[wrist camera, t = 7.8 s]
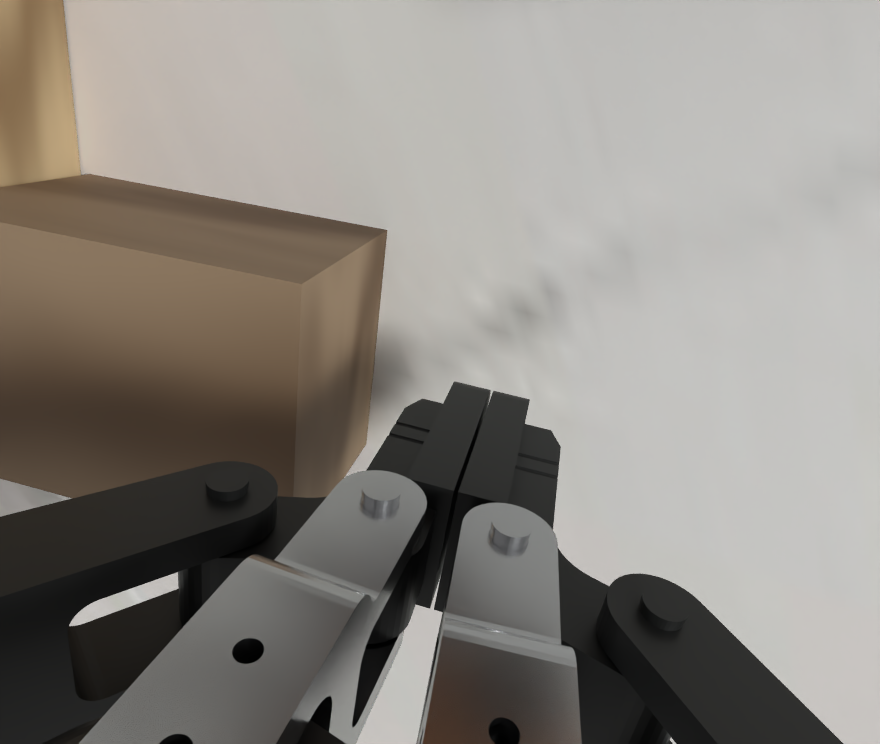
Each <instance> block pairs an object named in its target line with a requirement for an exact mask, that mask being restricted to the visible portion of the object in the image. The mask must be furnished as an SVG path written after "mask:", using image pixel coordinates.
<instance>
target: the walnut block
mask: <svg viewBox="0 0 880 744" xmlns="http://www.w3.org/2000/svg"><path fill="white" fill-rule="evenodd" d="M386 238H387V230H384V229H379V228H373V227H368V226H363V225H357V224H352V223H347V222H341V221H336V220H331V219H325V218H320V217H315V216H310V215H304V214H299V213H294V212H288V211H283V210H278V209H272V208H267V207H262V206H257V205H251V204H246V203H241V202H235V201H230V200H225V199H219V198H214V197H209V196H203V195H198V194H193V193H188V192H182V191H177V190H172V189H166V188H161V187H156V186H150V185H145V184H140V183H134V182H129V181H124V180H119V179H113V178H108V177H103V176H97V175H92V174H87V175H81V176H74V177H67V178H60V179H53V180H47V181H40V182H33V183H26V184H19V185H13V186H6V187H0V478H1V479H4V480H8V481H12V482H15V483H19V484H22V485H26V486H30V487H33V488H37V489H41V490H44V491H48V492H52V493H55V494H59V495H62V496H66V497H70V498H76V497H80V496H84V495H88V494H92V493H96V492H100V491H104V490H108V489H112V488H116V487H120V486H124V485H128V484H131V483H135V482H139V481H143V480H147V479H151V478H155V477H159V476H163V475H167V474H171V473H175V472H179V471H183V470H186V469H190V468H194V467H198V466H202V465H206V464H210V463H215V462H223V461H238V462H245V463H250V464H254V465H257V466H259V467H261V468H263V469H265V470H267V471H268V472H269V473H270V474H271V475H272V476H273V477H274V478H275V480H276V482H277V485H278V496H283V497H304V498H318V497H327V496H328V495H329V494H330V492H331V491H332V490H333V489H334V488H335V486H336V485H337V484H338V483H339V482H340V481H341V480H342V479H343V478H344V477H345V475H346V474H347V472H348V471H349V469H350V468H351V466H352V465H353V463H354V462H355V460H356V459H357V457H358V456H359V454H360V453H361V451H362V450H363V448H364V447H365V445H366V441H367V431H368V421H369V410H370V400H371V390H372V380H373V370H374V360H375V349H376V339H377V329H378V319H379V309H380V299H381V288H382V278H383V268H384V258H385V248H386Z"/></svg>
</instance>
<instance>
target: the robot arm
mask: <svg viewBox="0 0 880 744" xmlns="http://www.w3.org/2000/svg"><path fill="white" fill-rule="evenodd" d="M489 398H490V390H488V389H484V388H479V387H475V386H471V385H467V384H463V383H459V382H454V383H453V385H452V387H451V389H450V391H449V393H448V395H447V397H446V399H445V401H444V403H443V404H442V403H438V402H434V401H430V400H426V399H421V400H419V401H417V402H415V403H413V404H412V405H410V406H408V407H406V408H405V409H404V410H403V412H402V414H401V415H400V417H399V419H398V420H397V422H396V424H395V425H394V427H393V428H392V430H391V431H390V434H389V436H387V438H386V440H385V441H384V443H383V444H382V446H381V448H380V449H379V451H378V453H377V454H376V456H375V457H374V459H373V461H372V462H371V464H370V465H369V467H368V469H367V470H366V471H361V472H357V473H354V474H351V475H349V476H347V477H345V478H344V479H342V480H341V481H340V482H339V483H338V484H337V485H336V486H335V488H334V489H333V490H332V491H331V492H330V494H329V495H328V496H327V497H318V498H304V497H283V496H278V485H277V482H276V480H275V478H274V477H273V476H272V475H271V474H270V473H269V472H268V471H267V470H265V469H263V468H261V467H259V466H257V465H254V464H250V463H245V462H238V461H223V462H215V463H210V464H206V465H202V466H198V467H194V468H190V469H186V470H183V471H179V472H175V473H171V474H167V475H163V476H159V477H155V478H151V479H147V480H143V481H139V482H135V483H131V484H128V485H124V486H120V487H116V488H112V489H108V490H104V491H100V492H96V493H92V494H88V495H84V496H80V497H76V498H73V499H69V500H65V501H61V502H57V503H53V504H49V505H45V506H41V507H37V508H33V509H29V510H25V511H21V512H17V513H14V514H10V515H6V516H2V517H0V744H356V742H357V740H358V738H359V735H360V733H361V731H362V729H363V727H364V724H365V722H366V720H367V718H368V716H369V714H370V711H371V709H372V707H373V705H374V703H375V701H376V698H377V696H378V694H379V692H380V690H381V687H382V685H383V683H384V681H385V679H386V677H387V674H388V672H389V670H390V668H391V666H392V664H393V661H394V659H395V657H396V655H397V653H398V650H399V648H400V646H401V643H402V639H403V634H404V629H405V628H406V627H407V625H408V623H409V621H410V619H411V616H412V613H413V610H414V607H415V604H416V605H420V606H423V607H426V608H430V607H431V603H432V600H433V597H434V594H435V591H436V588H437V585H438V582H439V579H440V583H439V588H438V592H437V597H436V602H435V607H434V610H437V611H441V612H443V614H442V619H441V623H440V628H439V633H438V637H437V641H436V646H435V651H434V655H433V660H432V665H431V671H430V676H429V681H428V686H427V691H426V696H425V702H424V707H423V712H422V717H421V722H420V728H419V733H418V738H417V743H416V744H672V742H671V741H670V738H671V737H672V739H673V740H674V741H675V742H676V744H843V743H842V742H841V741H840V740H839V739H838V738H837V737H836V736H835V735H834V734H833V733H832V732H831V731H830V730H829V729H828V728H827V727H826V726H825V725H824V724H823V723H822V722H821V721H820V720H819V719H818V718H817V717H816V716H815V715H814V714H813V713H812V712H811V711H810V710H809V709H808V708H807V707H806V706H805V705H804V704H803V703H802V702H801V701H800V700H799V699H798V698H797V697H796V696H795V695H794V694H793V693H792V692H791V691H790V690H789V689H788V688H787V687H786V686H785V685H784V684H783V683H782V682H781V681H780V680H778V679H777V678H776V677H775V676H774V675H773V674H772V673H771V672H770V671H769V670H768V669H767V668H766V667H765V666H764V665H763V664H762V663H761V662H760V661H759V660H758V659H757V658H756V657H755V656H754V655H753V654H752V653H751V652H750V651H749V650H748V649H747V648H746V647H745V646H744V645H743V644H742V643H741V642H740V641H739V640H738V639H737V638H736V637H735V636H734V635H733V634H732V633H731V632H730V631H729V630H728V629H727V628H726V627H725V626H724V625H723V624H722V623H721V622H720V621H719V620H718V619H717V618H716V617H715V616H714V615H713V614H712V613H711V612H710V611H709V610H708V609H707V608H706V607H705V606H704V605H703V604H702V603H701V602H700V601H698V600H697V599H696V598H695V597H694V596H693V595H692V594H690V593H689V592H687V591H686V590H685V589H683V588H681V587H680V586H678V585H676V584H674V583H672V582H670V581H668V580H665V579H663V578H660V577H656V576H652V575H647V574H629V575H624V576H622V577H619V578H618V579H616V580H615V581H614V582H613V583H612V584H611V585H610V587H609V586H607V585H605V584H603V583H602V582H600V581H598V580H596V579H594V578H592V577H590V576H588V575H587V574H585V573H583V572H582V571H580V570H579V569H578V568H576V567H575V566H573V565H572V564H571V563H570V562H569V561H568V560H567V559H566V558H565V557H564V556H563V555H562V553H561V552H560V550H559V549H558V543H557V538H556V535H555V533H554V531H553V522H554V511H555V501H556V490H557V477H558V469H559V466H558V465H559V459H560V448H561V447H560V445H559V443H558V442H557V440H556V438H555V437H554V435H553V433H552V431H551V430H547V429H543V428H539V427H535V426H531V425H527V424H525V419H526V415H527V410H528V405H529V401H530V400H529V399H525V398H521V397H517V396H513V395H509V394H505V393H500V392H496V391H493V393H492V396H491V399H490V402H489ZM488 403H489V405H488ZM487 407H488V408H487ZM176 572H178V585H179V589H177V590H174V591H171V592H169V593H166V594H163V595H161V596H158V597H155V598H152V599H150V600H147V601H144V602H142V603H139V604H136V605H133V606H131V607H128V608H125V609H123V610H120V611H117V612H114V613H112V614H109V615H106V616H104V617H101V618H98V619H95V620H93V621H90V622H87V623H85V624H81V625H78V626H69V624H70V622H71V621H72V619H73V618H74V616H75V615H76V614H77V613H78V612H79V611H80V610H82V609H83V608H84V607H86V606H87V605H89V604H91V603H92V602H94V601H97V600H99V599H102V598H105V597H108V596H111V595H113V594H116V593H119V592H122V591H125V590H128V589H131V588H133V587H136V586H139V585H142V584H145V583H148V582H150V581H153V580H156V579H159V578H162V577H165V576H168V575H170V574H173V573H176ZM440 576H441V578H440Z"/></svg>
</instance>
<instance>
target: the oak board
mask: <svg viewBox="0 0 880 744" xmlns="http://www.w3.org/2000/svg"><path fill="white" fill-rule="evenodd" d="M74 176H81V172H80V162H79V152H78V143H77V133H76V123H75V113H74V104H73V94H72V84H71V74H70V65H69V55H68V45H67V35H66V26H65V16H64V6H63V0H0V187H6V186H13V185H19V184H26V183H33V182H40V181H47V180H53V179H60V178H67V177H74Z"/></svg>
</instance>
